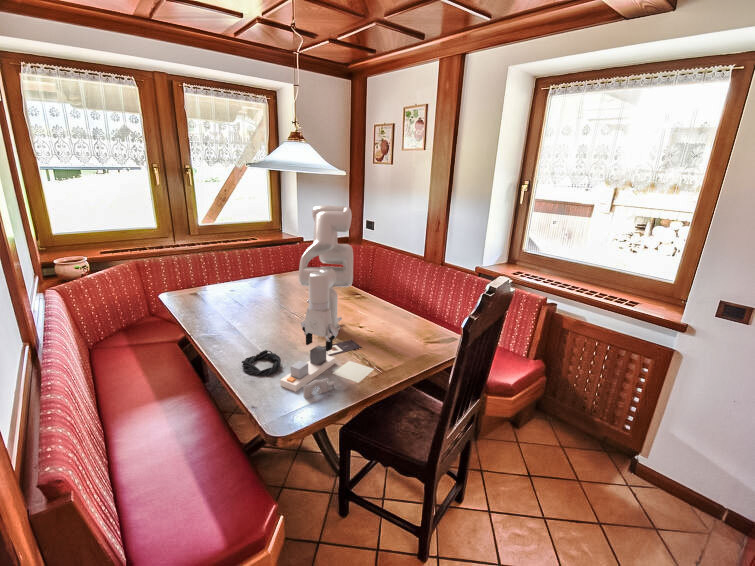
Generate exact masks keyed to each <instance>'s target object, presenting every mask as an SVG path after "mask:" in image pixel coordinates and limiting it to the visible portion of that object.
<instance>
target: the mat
mask: <svg viewBox="0 0 755 566" xmlns="http://www.w3.org/2000/svg"><path fill="white" fill-rule="evenodd" d="M374 370H375V368H372V367H370V366H367V365H364V364H360V363H357V362H354V361H351V360H348V361H347V362H346V363H344V364H343V365H341V366H340V367H339V368H337V369H336V370H335V371H333V372H332V373H331V374H332V375H335V376H338V377H341V378H343V379H346V380H349V381H352V382H354V383H357V384H359V383H360V382H361V381H362V380H364V379H365V378H366V377H367V376H369V375H370V374H371V373H372V372H373V371H374Z"/></svg>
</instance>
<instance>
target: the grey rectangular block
mask: <svg viewBox="0 0 755 566" xmlns="http://www.w3.org/2000/svg"><path fill="white" fill-rule="evenodd" d="M309 355H310V356H309V361H310V363H312V364H315V365H317V366H319V365H322V364H323V363H325V362H326V348H325V347H324V346H321V345H317V346H315V347H313V348H311V349H310V350H309Z"/></svg>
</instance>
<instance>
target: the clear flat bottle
mask: <svg viewBox="0 0 755 566" xmlns="http://www.w3.org/2000/svg"><path fill="white" fill-rule="evenodd" d="M335 384H336V382H335V381H334V380H332V381H331V382H330V381H329V379H328V377H327V378H324V379H313V380H311V381H310V382H309V383H307V384H306V385H304V386H302V388H303V398H304V399H308V398H311V397H315V395H316V394H318V395H321V394H323V393H326V392H329V391H333V390H334V389H335Z"/></svg>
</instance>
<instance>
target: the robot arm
mask: <svg viewBox="0 0 755 566" xmlns="http://www.w3.org/2000/svg"><path fill="white" fill-rule="evenodd" d="M311 212H312V218H313V221H314V228H313V229H314V230H313V240H312V242H313V243H312V244H311V245H309V246H308V247H307V248H306V249H305V251H304V252H303V254H302V255H301V257H300V260H299V268H298V282H299V284H300V285H301V286H303V287H308V299H307V300H306V303H307V304H308V306H307V307H306V312H305V318H304V320H303V321H301V322H300V325H301V330H302V331H303V332H304V333H303V334H304V336H305V345H306V346H309V345H310V344H312V343H313V335H314V336H318V337H321V338H322V337H323V338H325V339H326V341H325V346H326V351H329V350H331V349H332V347H333V344H334V343H333V342H334V340H335V339H336V338H337V336H338V334H339V332H340V331H341V326H340V324H339V322H340V321H342V319H343V317H342V316H338V302H339V301H338V293H337V291H336V290H335V289H334V288H349V287H351V286H352V284H353V281H354V250H353V247H352V245H350V244H349V243H339V242H338V237H339V236H338V235H339V234H338V232H341V233H347V232H349V231H350V228H351V224H352V219H353V218H352V217H353V216H352V210H351V207H348V206H344V205H343V206H341V205H317V206H314V207H313V208H312V211H311ZM316 257H318V258H319V262H321V263H322V264H329V265H342V266H327V265H326V266H317V267H316V266H314V267H313V266H310V267H309V266H308V264H309V262H310V261H311V260H313V259H314V258H316Z"/></svg>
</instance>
